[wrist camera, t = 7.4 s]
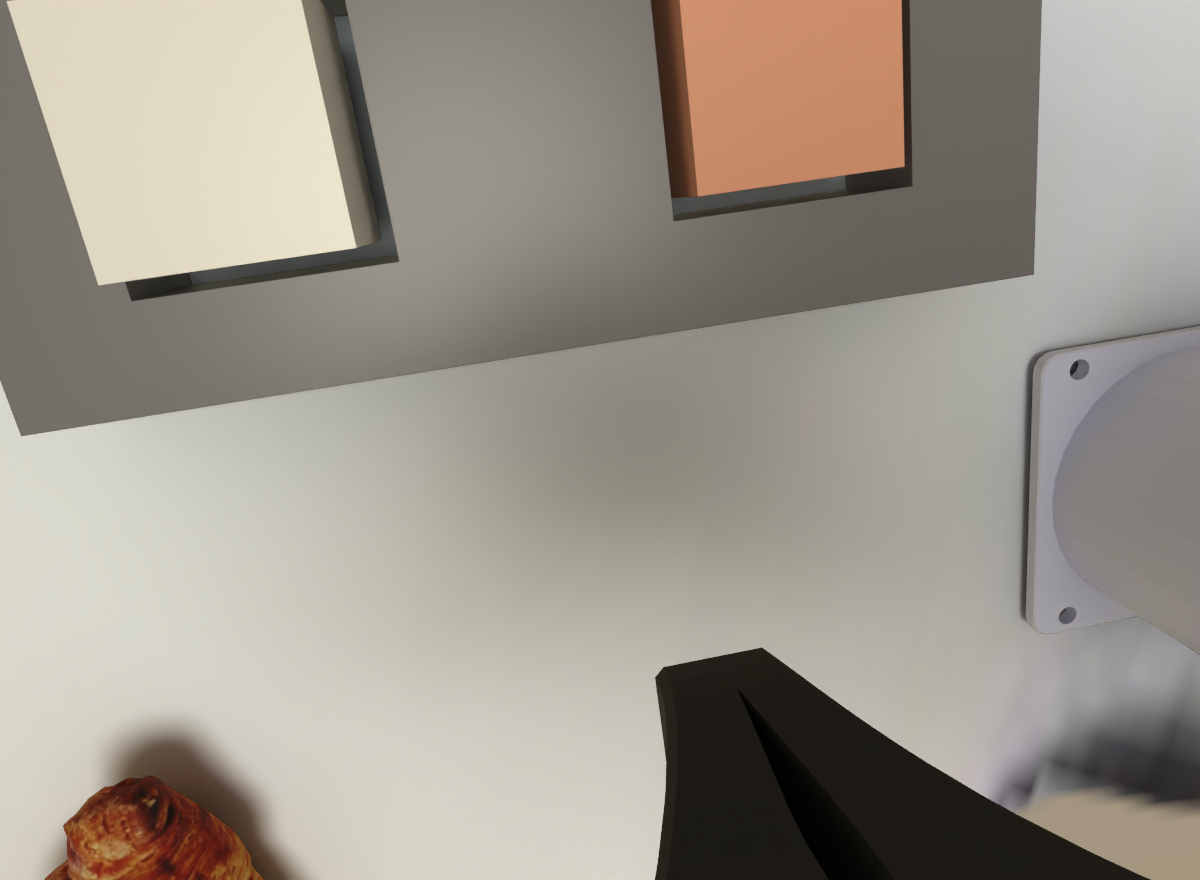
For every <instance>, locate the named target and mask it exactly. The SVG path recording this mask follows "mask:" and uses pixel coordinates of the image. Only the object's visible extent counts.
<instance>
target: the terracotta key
mask: <svg viewBox="0 0 1200 880" xmlns="http://www.w3.org/2000/svg"><path fill="white" fill-rule="evenodd" d="M651 9H652V19H653V28H654V38H655V47H656V57H657V67H658V76H659V86H660V96H661V105H662V115H663V124H664V134H665V144H666V153H667V163H668V173H669V182H670V192H671V198H677V197H698V196H705V195H712V194H719V193H726V192H733V191H740V190H746V189H753V188H760V187H767V186H774V185H781V184H788V183H795V182H802V181H809V180H816V179H822V178H829V177H836V176H843V175H850V174H857V173H864V172H871V171H878V170H885V169H892V168H898V167H905V162H904V107H903V53H902V0H651Z"/></svg>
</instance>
